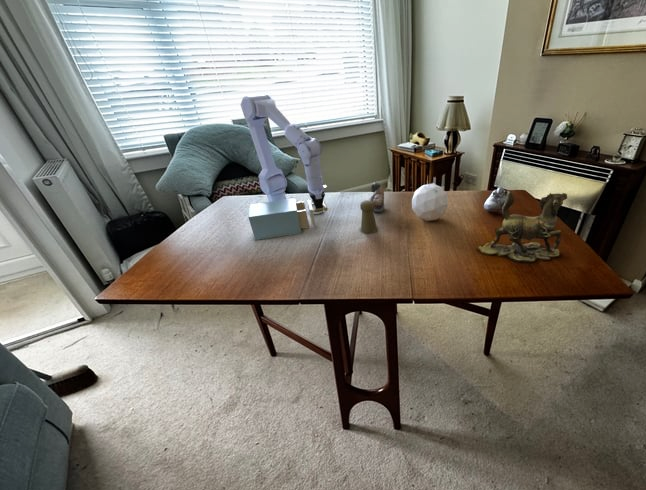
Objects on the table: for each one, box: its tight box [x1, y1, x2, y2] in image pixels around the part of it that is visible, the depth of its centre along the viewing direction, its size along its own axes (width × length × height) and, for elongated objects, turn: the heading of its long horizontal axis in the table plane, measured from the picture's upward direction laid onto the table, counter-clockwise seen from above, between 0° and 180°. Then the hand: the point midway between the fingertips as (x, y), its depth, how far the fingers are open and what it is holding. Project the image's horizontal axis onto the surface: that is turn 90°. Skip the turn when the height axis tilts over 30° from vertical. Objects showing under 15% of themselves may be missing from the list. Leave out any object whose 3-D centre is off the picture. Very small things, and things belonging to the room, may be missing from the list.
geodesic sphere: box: [411, 183, 449, 222], centre depth 117 cm, size 15×14×14 cm
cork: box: [359, 199, 378, 234], centre depth 112 cm, size 6×6×11 cm
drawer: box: [296, 198, 329, 229], centre depth 117 cm, size 21×11×7 cm, turn 107°
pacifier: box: [307, 199, 324, 215], centre depth 129 cm, size 7×6×6 cm
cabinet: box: [247, 198, 302, 241], centre depth 115 cm, size 17×13×9 cm
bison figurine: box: [369, 181, 385, 213], centre depth 128 cm, size 12×7×10 cm, turn 0°
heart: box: [483, 186, 510, 213], centre depth 120 cm, size 10×10×12 cm
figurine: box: [477, 190, 568, 264], centre depth 92 cm, size 13×25×20 cm, turn 79°
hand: (319, 210), depth 118 cm, fingers closed, pressing on drawer
